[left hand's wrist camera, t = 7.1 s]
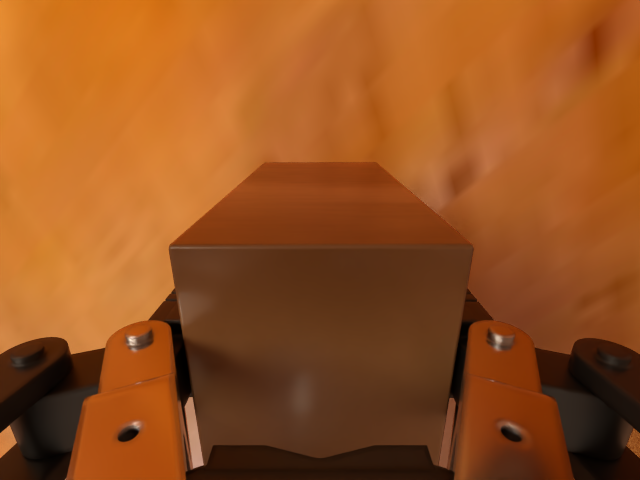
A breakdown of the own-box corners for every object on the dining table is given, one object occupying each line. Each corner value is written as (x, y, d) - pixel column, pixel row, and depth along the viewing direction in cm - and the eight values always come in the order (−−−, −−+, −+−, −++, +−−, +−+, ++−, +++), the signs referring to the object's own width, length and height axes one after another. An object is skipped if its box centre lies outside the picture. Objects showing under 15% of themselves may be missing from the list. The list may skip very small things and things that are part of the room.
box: (263, 162, 18) (165, 245, 7) (377, 162, 18) (476, 244, 7) (282, 497, 27) (254, 782, 15) (358, 497, 27) (387, 782, 15)
